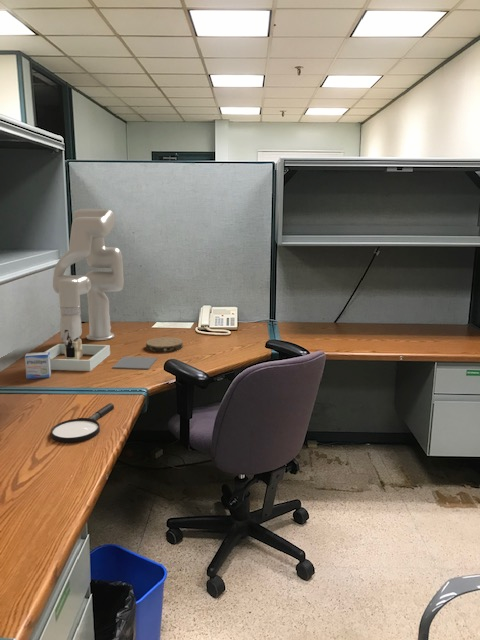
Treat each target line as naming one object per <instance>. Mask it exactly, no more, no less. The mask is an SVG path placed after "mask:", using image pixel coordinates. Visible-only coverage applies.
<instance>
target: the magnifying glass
mask: <svg viewBox="0 0 480 640" xmlns="http://www.w3.org/2000/svg"><path fill="white" fill-rule="evenodd" d="M114 409H115V406H114V404H113V403H111V402H110V403H108V404H106V405H105V406H103V407H102V408H100V409H99V410H97V411H95V413H94V414H92V415H91V416H89V417H78V418H72V419H68V420H64V421H62V422H59V423H57V424H55V425H54V426H53V427H52V428H51V429H50V438H51V439H52V440H53V441H54V442H56V443H61V444H77V443H82V442H86V441H89V440H92V439H94V438H95V437H97V436H98V435H99V433H100V430H101V429H100V428H101V427H100V426H101V425H100V423H99V422H98V421H97V420H99V419H101V418H102V417H105V416H106V415H107V414H108V413H110V412H111V411H113V410H114Z"/></svg>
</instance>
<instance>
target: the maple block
mask: <svg viewBox="0 0 480 640" xmlns="http://www.w3.org/2000/svg"><path fill="white" fill-rule="evenodd" d="M68 340H71V338H68ZM82 341H83V340H82V339H81V338H80V339H75V340H74V343H73V347H74V349H75V357H74V358H70V357H67V356H66V348H65V344H64V343H63V344H64V349H65V354H64V359H75V360H80V359H81V358H83V355H84V354H82V344H83V342H82ZM68 342H70V343H71V341H68Z"/></svg>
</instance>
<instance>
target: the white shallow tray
mask: <svg viewBox="0 0 480 640" xmlns="http://www.w3.org/2000/svg"><path fill="white" fill-rule="evenodd" d="M44 352H49V353H50V368H51V371H54V370H55V371H80V372H91V371H93V370H94V369H95V368H96V367H97V366H98V365H100V363H102V362H103V361H104V360H105V359H106V358H108V357H109V356H111V346H110V344H85V343H84V344H83V343H82V355H92V356H91V357H90V358H89V359H78V360H75V359H65V358H56V357H57V356H59V355H63V354H64V355H65V349H64V343H57V344H56V345H54V346H52V347H51V348H49V349H47V350H45V351H44Z"/></svg>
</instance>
